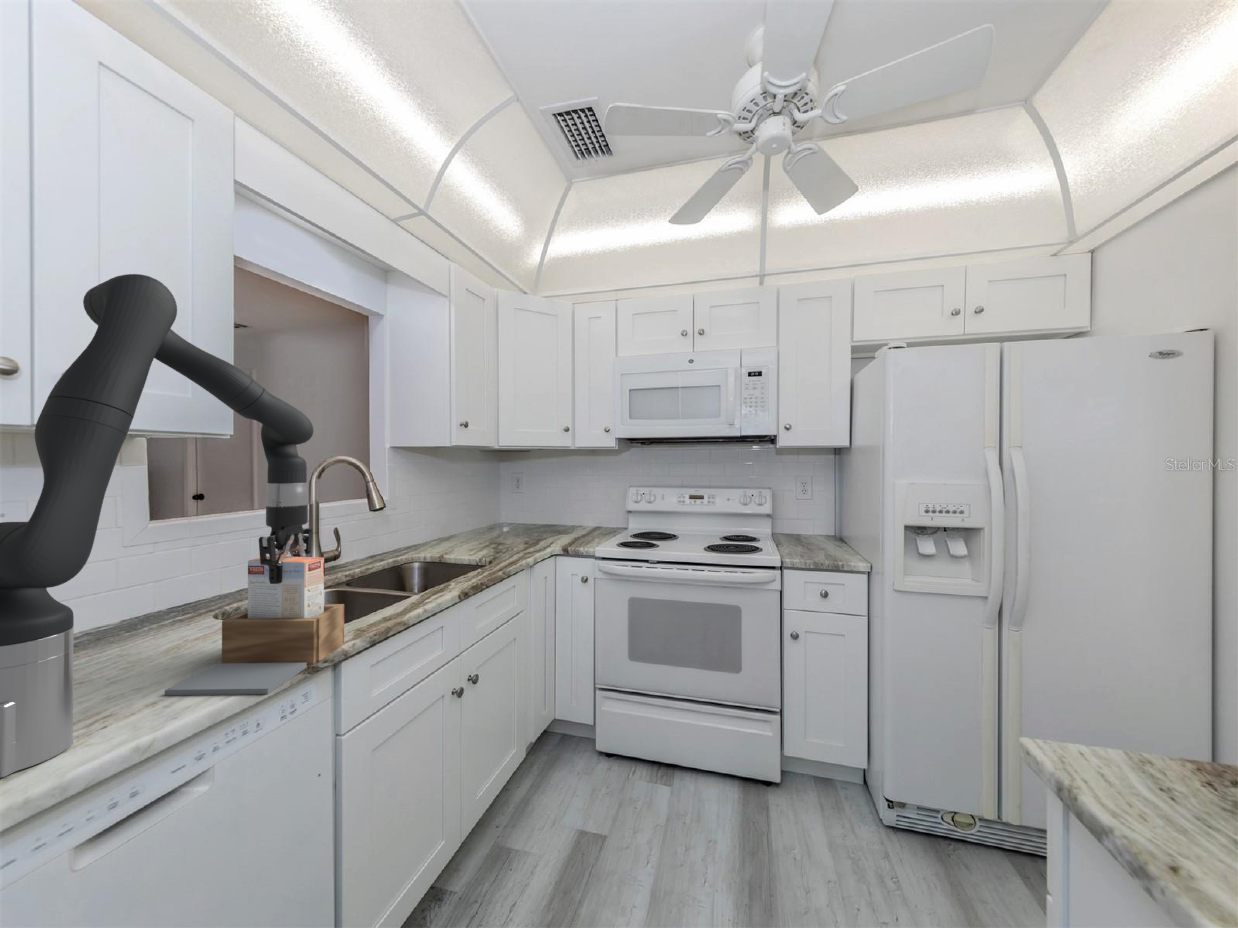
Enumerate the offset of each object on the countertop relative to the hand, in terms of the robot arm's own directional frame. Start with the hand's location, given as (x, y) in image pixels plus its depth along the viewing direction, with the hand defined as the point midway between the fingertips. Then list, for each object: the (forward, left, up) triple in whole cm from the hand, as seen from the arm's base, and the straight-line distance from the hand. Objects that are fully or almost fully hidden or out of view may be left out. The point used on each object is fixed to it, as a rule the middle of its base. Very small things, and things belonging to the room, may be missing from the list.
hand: (287, 579), depth 102 cm
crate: (0, 0, -16) cm, 16 cm away
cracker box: (0, 0, -16) cm, 16 cm away
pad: (-13, 0, -16) cm, 21 cm away
